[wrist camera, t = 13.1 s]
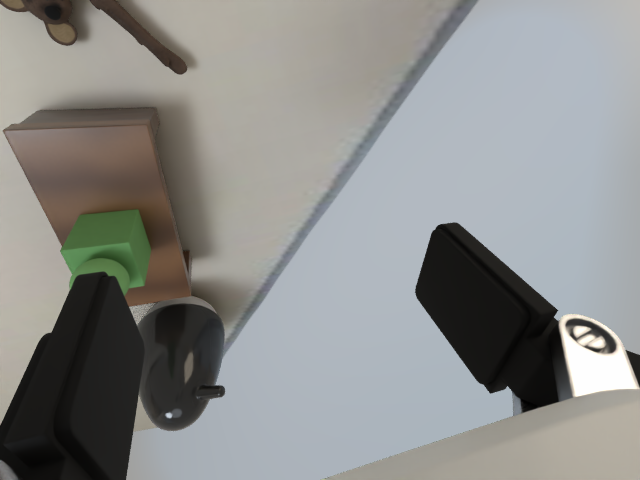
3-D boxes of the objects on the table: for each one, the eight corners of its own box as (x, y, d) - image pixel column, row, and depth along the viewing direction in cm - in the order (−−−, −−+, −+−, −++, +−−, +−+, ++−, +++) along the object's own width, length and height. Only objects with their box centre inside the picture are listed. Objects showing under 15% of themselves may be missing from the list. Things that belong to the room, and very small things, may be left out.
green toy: (79, 214, 27) (42, 282, 21) (138, 208, 28) (120, 271, 22) (97, 256, 30) (70, 328, 23) (151, 249, 31) (139, 316, 24)
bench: (35, 107, 27) (1, 130, 22) (155, 104, 29) (147, 124, 25) (108, 273, 37) (95, 312, 33) (192, 261, 40) (191, 296, 35)
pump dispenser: (238, 313, 47) (251, 419, 35) (174, 347, 47) (165, 463, 35) (193, 268, 40) (192, 380, 29) (119, 308, 41) (87, 435, 29)
